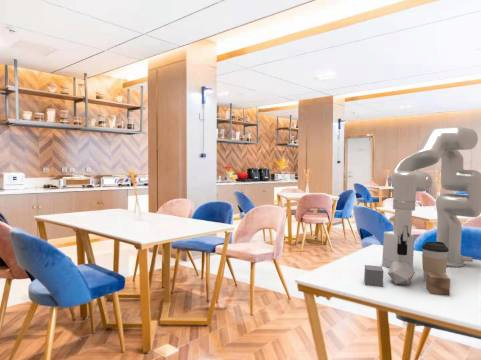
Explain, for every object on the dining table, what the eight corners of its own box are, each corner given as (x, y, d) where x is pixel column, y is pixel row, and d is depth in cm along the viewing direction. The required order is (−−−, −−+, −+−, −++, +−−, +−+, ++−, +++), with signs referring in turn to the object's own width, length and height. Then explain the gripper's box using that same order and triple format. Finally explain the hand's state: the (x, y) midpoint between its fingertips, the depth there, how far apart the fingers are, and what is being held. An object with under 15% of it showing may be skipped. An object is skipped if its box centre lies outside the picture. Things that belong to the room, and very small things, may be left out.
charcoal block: (381, 282, 135) (381, 266, 135) (382, 287, 130) (383, 271, 129) (364, 280, 137) (364, 264, 137) (365, 285, 131) (365, 269, 131)
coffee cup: (437, 287, 131) (439, 246, 130) (415, 279, 139) (416, 241, 138) (452, 283, 135) (454, 244, 134) (430, 276, 143) (431, 239, 142)
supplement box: (398, 271, 149) (399, 235, 148) (381, 265, 157) (382, 231, 156) (413, 268, 153) (415, 234, 152) (396, 263, 161) (398, 230, 160)
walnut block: (444, 290, 128) (445, 273, 127) (449, 296, 122) (450, 278, 122) (425, 288, 129) (426, 272, 129) (429, 294, 124) (430, 277, 123)
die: (411, 290, 128) (422, 267, 131) (389, 277, 130) (400, 254, 132) (401, 290, 136) (411, 268, 139) (380, 278, 137) (391, 256, 140)
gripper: (390, 202, 141) (388, 248, 142) (396, 207, 127) (393, 258, 128) (411, 203, 139) (409, 250, 140) (419, 208, 125) (417, 260, 126)
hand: (401, 254), depth 134 cm, fingers closed
